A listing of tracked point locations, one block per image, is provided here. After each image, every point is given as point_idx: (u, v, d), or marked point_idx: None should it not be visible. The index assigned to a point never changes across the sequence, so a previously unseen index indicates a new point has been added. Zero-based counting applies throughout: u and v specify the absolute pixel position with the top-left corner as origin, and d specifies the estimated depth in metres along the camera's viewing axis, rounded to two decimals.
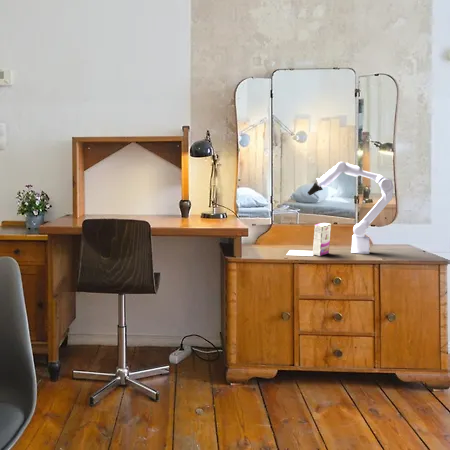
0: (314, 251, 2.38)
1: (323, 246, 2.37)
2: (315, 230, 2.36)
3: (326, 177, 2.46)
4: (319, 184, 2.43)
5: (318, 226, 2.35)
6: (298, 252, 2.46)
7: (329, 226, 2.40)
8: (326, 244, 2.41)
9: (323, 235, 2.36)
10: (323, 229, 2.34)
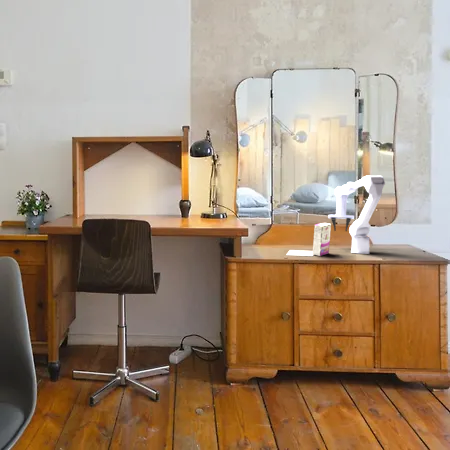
0: (314, 251, 2.38)
1: (323, 246, 2.37)
2: (315, 230, 2.36)
3: None
4: (328, 216, 2.61)
5: (318, 226, 2.35)
6: (298, 252, 2.46)
7: (329, 226, 2.40)
8: (326, 244, 2.41)
9: (323, 235, 2.36)
10: (323, 229, 2.34)
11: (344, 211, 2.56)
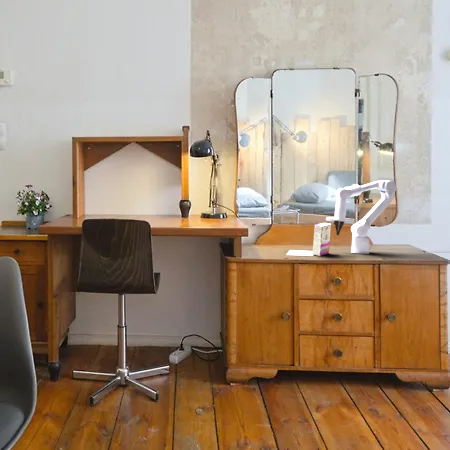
0: (314, 251, 2.38)
1: (323, 246, 2.37)
2: (315, 230, 2.36)
3: None
4: (326, 218, 2.47)
5: (318, 226, 2.35)
6: (298, 252, 2.46)
7: (329, 226, 2.40)
8: (326, 244, 2.41)
9: (323, 235, 2.36)
10: (323, 229, 2.34)
11: (343, 214, 2.42)
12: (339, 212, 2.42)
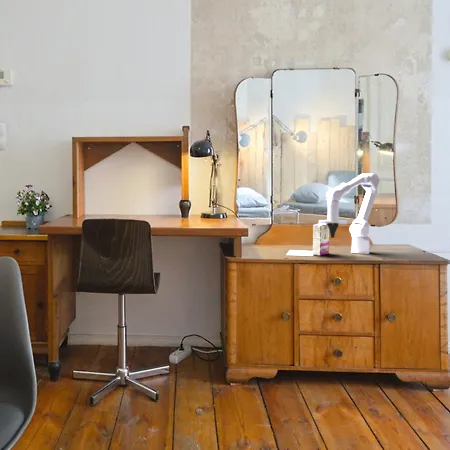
0: (314, 251, 2.38)
1: (322, 245, 2.37)
2: (314, 230, 2.37)
3: None
4: (319, 222, 2.39)
5: (316, 225, 2.36)
6: (298, 252, 2.46)
7: (327, 226, 2.41)
8: (326, 243, 2.41)
9: (322, 234, 2.36)
10: (321, 228, 2.35)
11: (337, 216, 2.35)
12: (333, 214, 2.35)
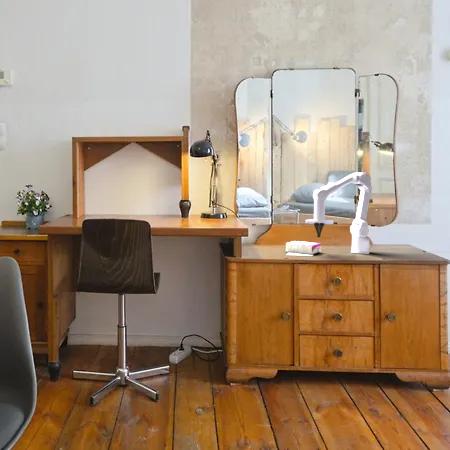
0: (308, 252, 2.40)
1: (305, 244, 2.43)
2: (290, 250, 2.46)
3: None
4: None
5: (286, 247, 2.48)
6: None
7: (294, 241, 2.54)
8: (308, 243, 2.47)
9: (295, 243, 2.46)
10: (289, 243, 2.47)
11: (322, 216, 2.37)
12: (318, 214, 2.37)
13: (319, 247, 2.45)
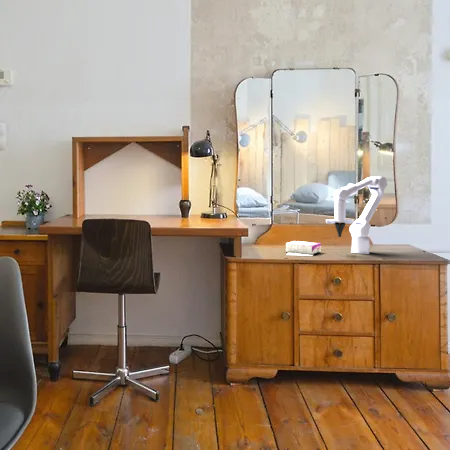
0: (308, 252, 2.40)
1: (305, 244, 2.43)
2: (290, 250, 2.46)
3: None
4: (326, 221, 2.42)
5: (286, 247, 2.48)
6: None
7: (294, 241, 2.54)
8: (308, 243, 2.47)
9: (295, 243, 2.46)
10: (289, 243, 2.47)
11: (344, 215, 2.38)
12: (340, 214, 2.37)
13: (319, 247, 2.45)
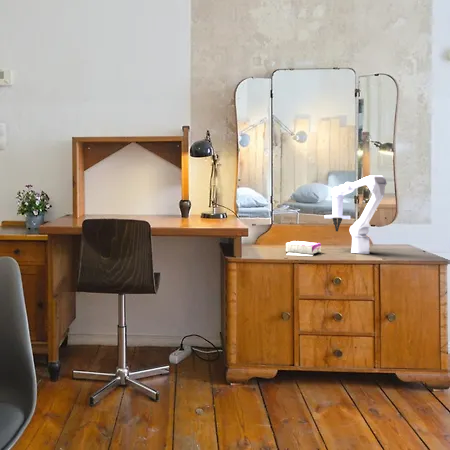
0: (308, 252, 2.40)
1: (305, 244, 2.43)
2: (290, 250, 2.46)
3: None
4: None
5: (286, 247, 2.48)
6: None
7: (294, 241, 2.54)
8: (308, 243, 2.47)
9: (295, 243, 2.46)
10: (289, 243, 2.47)
11: (340, 211, 2.55)
12: (336, 210, 2.55)
13: (319, 247, 2.45)
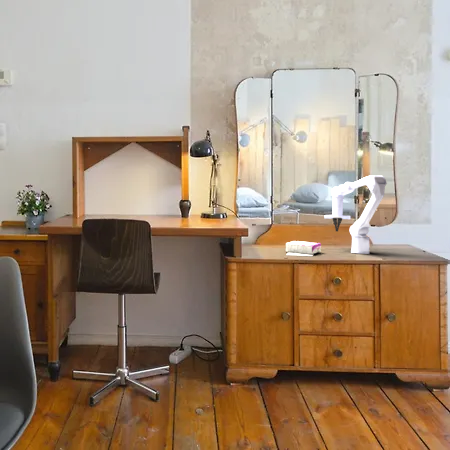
0: (308, 252, 2.40)
1: (305, 244, 2.43)
2: (290, 250, 2.46)
3: None
4: None
5: (286, 247, 2.48)
6: None
7: (294, 241, 2.54)
8: (308, 243, 2.47)
9: (295, 243, 2.46)
10: (289, 243, 2.47)
11: (340, 211, 2.55)
12: (336, 210, 2.55)
13: (319, 247, 2.45)
